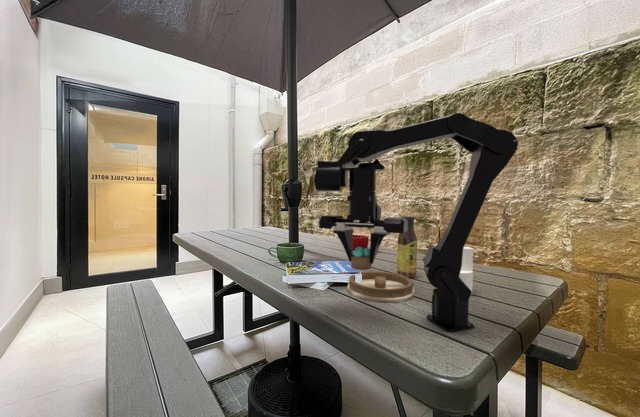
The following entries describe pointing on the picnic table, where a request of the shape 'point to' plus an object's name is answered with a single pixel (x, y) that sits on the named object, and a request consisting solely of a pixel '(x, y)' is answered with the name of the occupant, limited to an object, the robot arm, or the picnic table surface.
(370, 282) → the ring tray
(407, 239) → the sauce bottle
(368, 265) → the toy potted plant
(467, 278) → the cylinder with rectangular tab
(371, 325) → the picnic table surface
